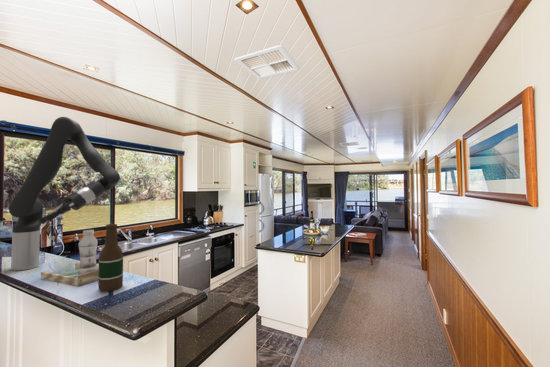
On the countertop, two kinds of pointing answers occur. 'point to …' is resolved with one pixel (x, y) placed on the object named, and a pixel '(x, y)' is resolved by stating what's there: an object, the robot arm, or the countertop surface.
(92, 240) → the plastic bottle
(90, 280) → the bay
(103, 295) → the countertop surface
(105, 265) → the beer bottle
